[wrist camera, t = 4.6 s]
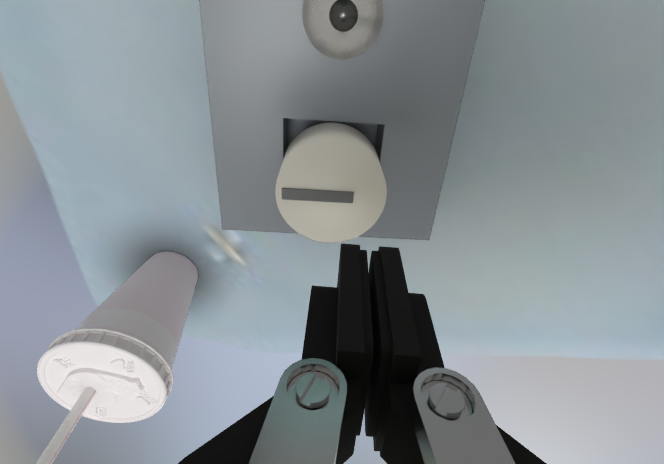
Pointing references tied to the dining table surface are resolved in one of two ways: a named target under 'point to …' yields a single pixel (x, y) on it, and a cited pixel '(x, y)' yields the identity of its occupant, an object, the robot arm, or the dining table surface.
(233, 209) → the mount
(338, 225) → the knob
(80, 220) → the dining table surface
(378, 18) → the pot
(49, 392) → the smoothie
